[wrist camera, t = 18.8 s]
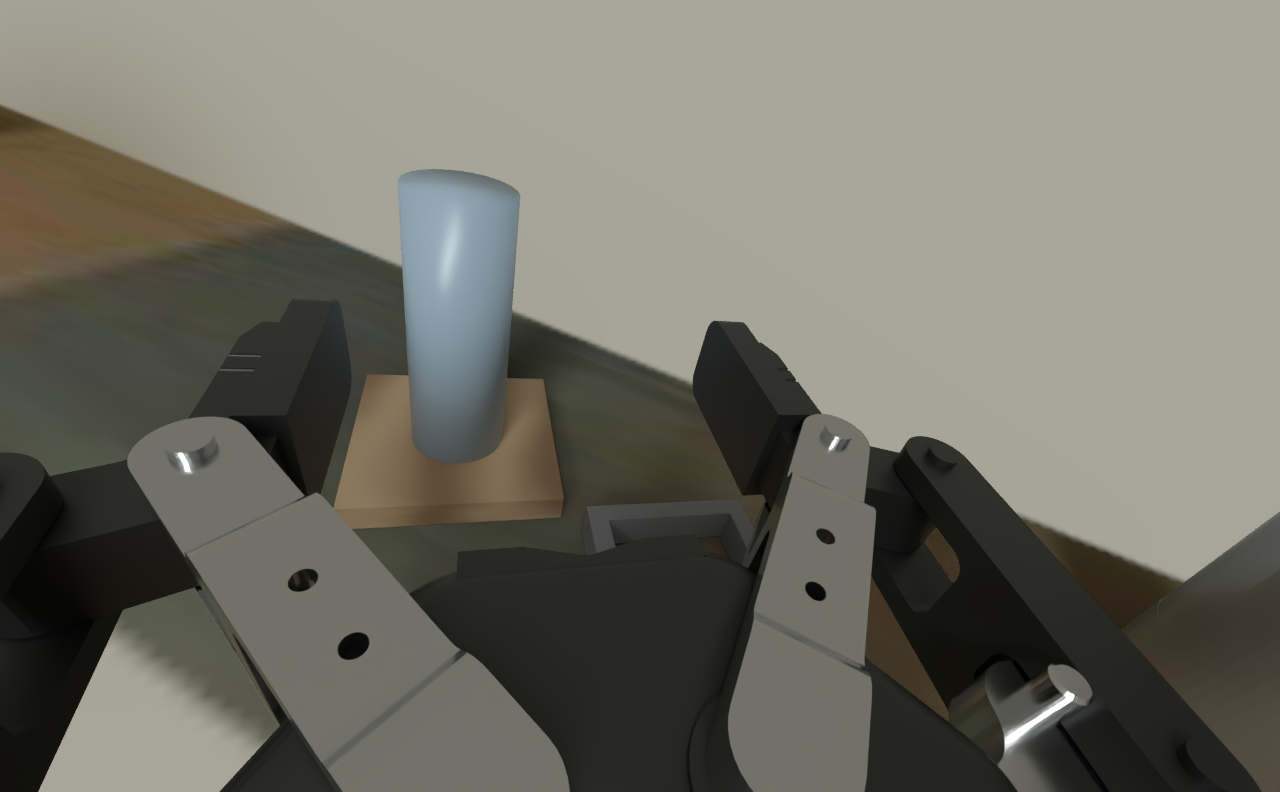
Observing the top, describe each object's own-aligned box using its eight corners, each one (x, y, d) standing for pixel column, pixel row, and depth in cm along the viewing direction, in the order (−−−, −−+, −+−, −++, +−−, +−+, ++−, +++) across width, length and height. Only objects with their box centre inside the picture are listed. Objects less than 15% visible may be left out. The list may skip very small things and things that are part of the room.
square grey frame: (729, 521, 32) (739, 498, 31) (798, 671, 25) (815, 649, 24) (581, 530, 29) (586, 506, 28) (614, 703, 22) (623, 680, 21)
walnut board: (541, 396, 38) (543, 379, 37) (560, 517, 30) (564, 499, 29) (369, 393, 34) (367, 374, 33) (337, 529, 26) (332, 509, 25)
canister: (501, 407, 34) (517, 179, 26) (503, 463, 30) (522, 214, 22) (416, 405, 32) (405, 163, 24) (406, 463, 28) (389, 197, 20)
